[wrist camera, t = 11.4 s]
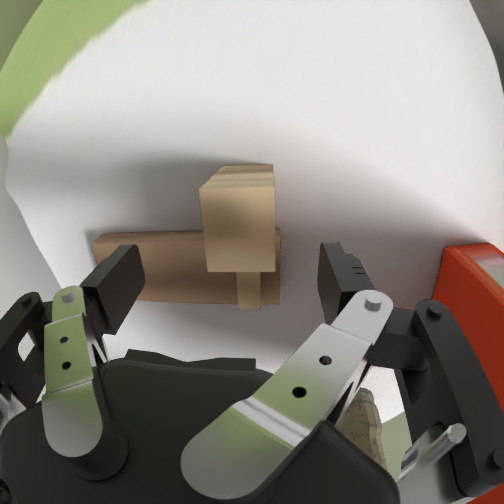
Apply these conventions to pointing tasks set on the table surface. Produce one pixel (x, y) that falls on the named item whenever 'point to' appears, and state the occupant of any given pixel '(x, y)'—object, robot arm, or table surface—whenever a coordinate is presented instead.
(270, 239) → the wooden brick
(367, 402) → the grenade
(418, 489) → the robot arm
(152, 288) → the brown block
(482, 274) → the file binder
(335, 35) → the table surface
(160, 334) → the table surface
